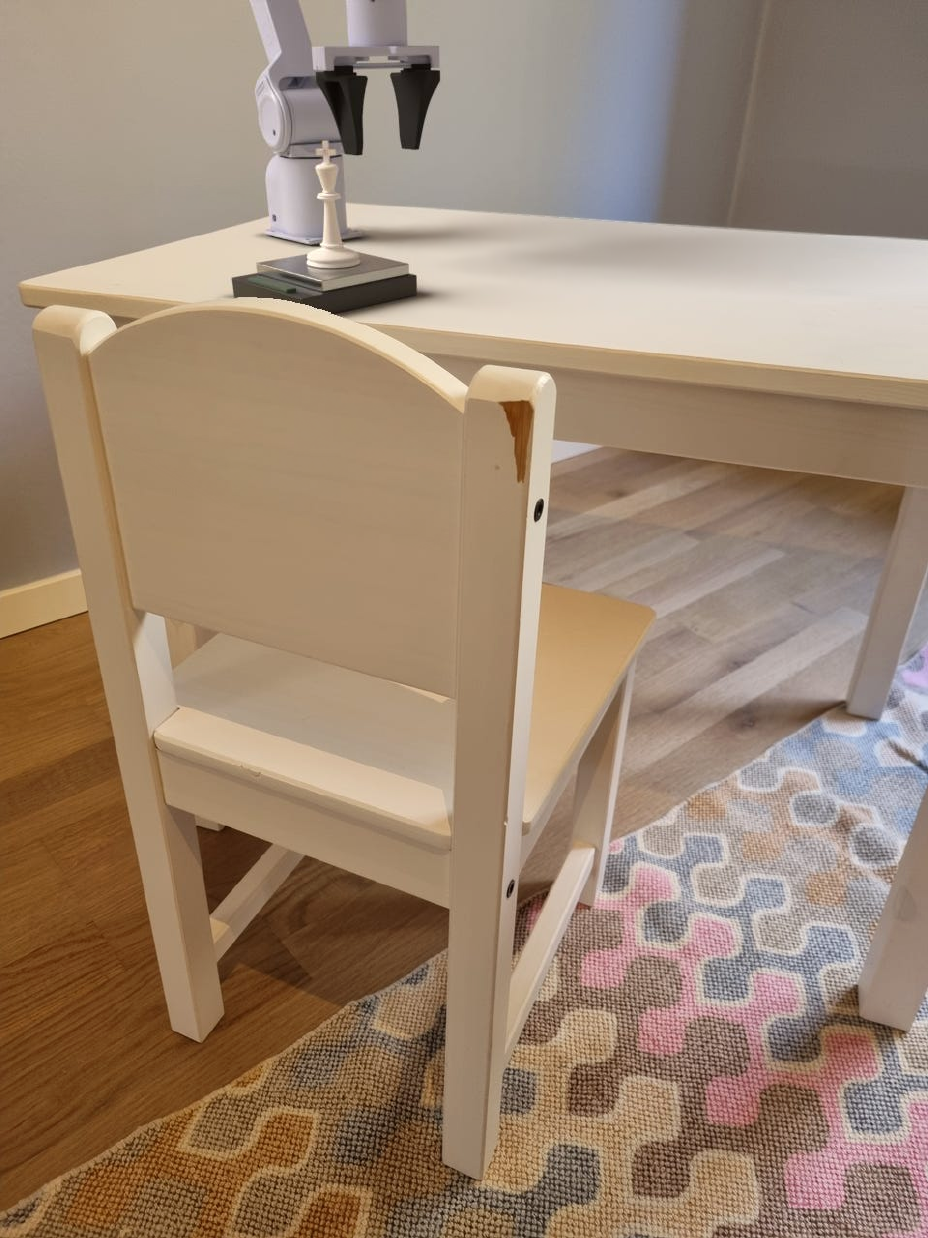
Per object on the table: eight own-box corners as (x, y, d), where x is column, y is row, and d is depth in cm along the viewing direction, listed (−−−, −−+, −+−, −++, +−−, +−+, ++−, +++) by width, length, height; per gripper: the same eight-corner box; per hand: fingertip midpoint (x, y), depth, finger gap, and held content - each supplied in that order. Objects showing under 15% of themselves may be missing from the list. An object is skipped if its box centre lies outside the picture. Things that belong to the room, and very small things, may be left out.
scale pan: (257, 273, 85) (255, 262, 85) (342, 258, 91) (341, 247, 91) (322, 292, 79) (321, 280, 79) (409, 274, 85) (409, 263, 85)
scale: (233, 297, 85) (230, 273, 84) (344, 275, 93) (342, 253, 92) (304, 320, 79) (302, 294, 77) (417, 294, 86) (416, 271, 85)
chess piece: (351, 269, 82) (343, 144, 77) (298, 267, 83) (287, 143, 78) (367, 258, 86) (361, 138, 81) (317, 256, 87) (307, 137, 82)
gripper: (341, -13, 80) (351, 160, 88) (460, -9, 89) (460, 149, 96) (293, -11, 85) (307, 154, 92) (411, -6, 93) (415, 144, 100)
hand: (382, 151), depth 94 cm, fingers open, 7 cm apart
